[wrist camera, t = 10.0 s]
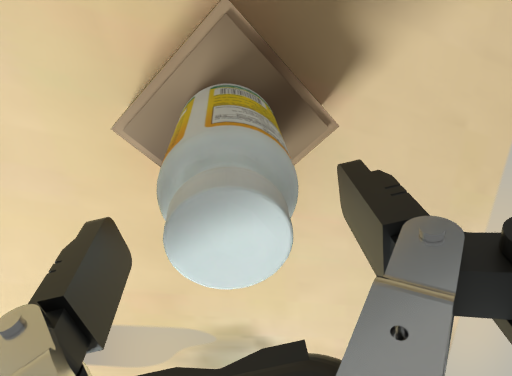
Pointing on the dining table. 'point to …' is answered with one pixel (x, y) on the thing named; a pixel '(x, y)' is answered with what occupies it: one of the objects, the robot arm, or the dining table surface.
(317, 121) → the wooden box
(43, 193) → the dining table surface
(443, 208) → the dining table surface
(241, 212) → the supplement bottle
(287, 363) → the robot arm
